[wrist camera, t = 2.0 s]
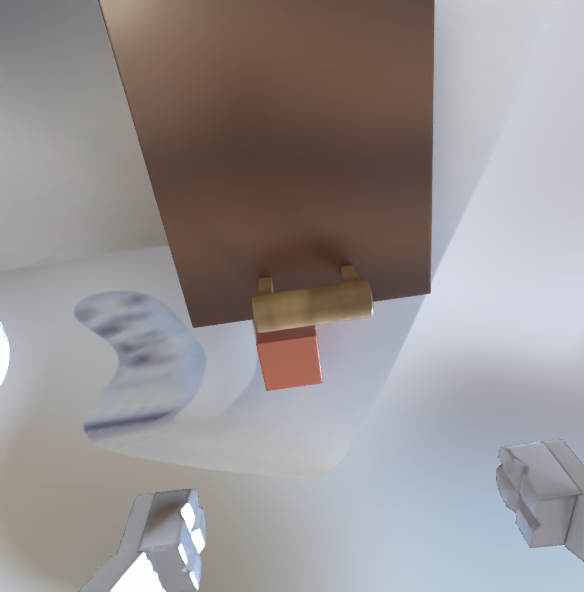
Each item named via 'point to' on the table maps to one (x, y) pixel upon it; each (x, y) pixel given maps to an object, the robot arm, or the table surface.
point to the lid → (285, 150)
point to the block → (289, 357)
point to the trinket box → (3, 353)
